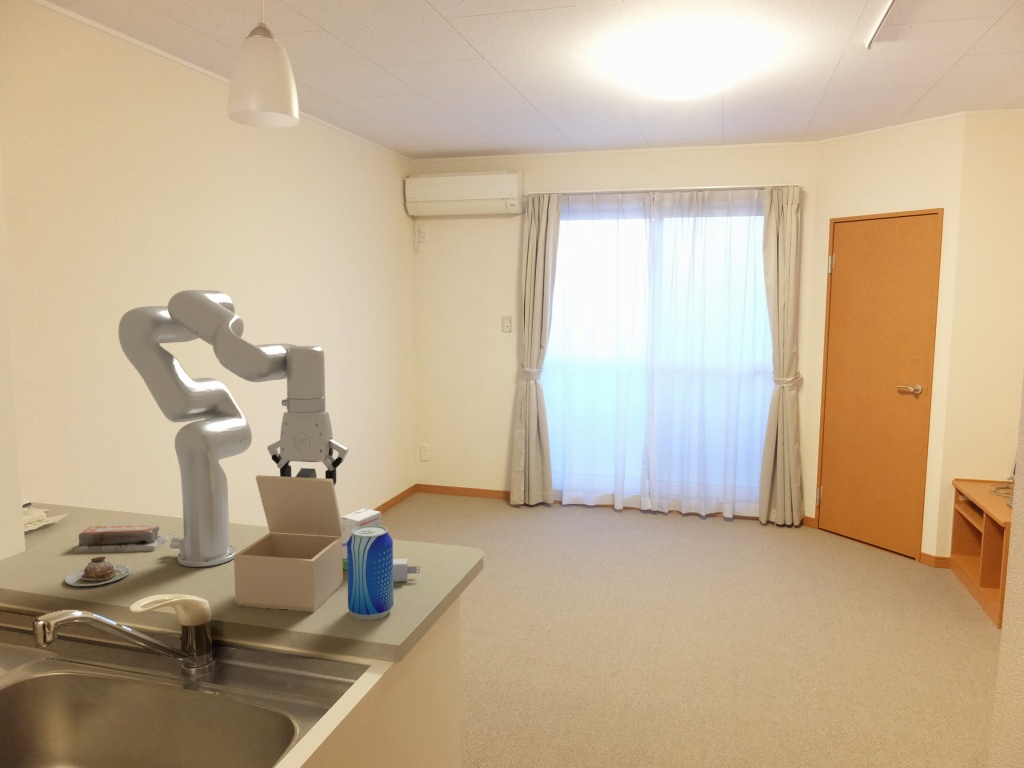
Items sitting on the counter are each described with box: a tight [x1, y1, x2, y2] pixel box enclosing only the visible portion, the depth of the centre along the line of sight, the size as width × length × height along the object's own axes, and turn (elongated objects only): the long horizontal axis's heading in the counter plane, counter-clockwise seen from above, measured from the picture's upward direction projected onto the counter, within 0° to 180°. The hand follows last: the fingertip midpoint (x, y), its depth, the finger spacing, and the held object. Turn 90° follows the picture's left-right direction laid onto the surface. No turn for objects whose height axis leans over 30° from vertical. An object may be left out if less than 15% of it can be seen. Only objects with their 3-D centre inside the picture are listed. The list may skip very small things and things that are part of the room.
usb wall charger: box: [393, 558, 421, 583], centre depth 152 cm, size 4×7×4 cm, turn 97°
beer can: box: [346, 525, 394, 621], centre depth 135 cm, size 8×8×16 cm
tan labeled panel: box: [255, 467, 344, 537], centre depth 149 cm, size 16×14×7 cm
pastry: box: [64, 556, 131, 588], centre depth 151 cm, size 12×12×5 cm
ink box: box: [340, 508, 382, 571], centre depth 159 cm, size 8×5×12 cm, turn 152°
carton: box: [233, 532, 344, 613], centre depth 143 cm, size 16×14×10 cm
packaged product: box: [74, 525, 170, 554], centre depth 171 cm, size 18×5×10 cm
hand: (308, 486), depth 150 cm, fingers open, 9 cm apart
